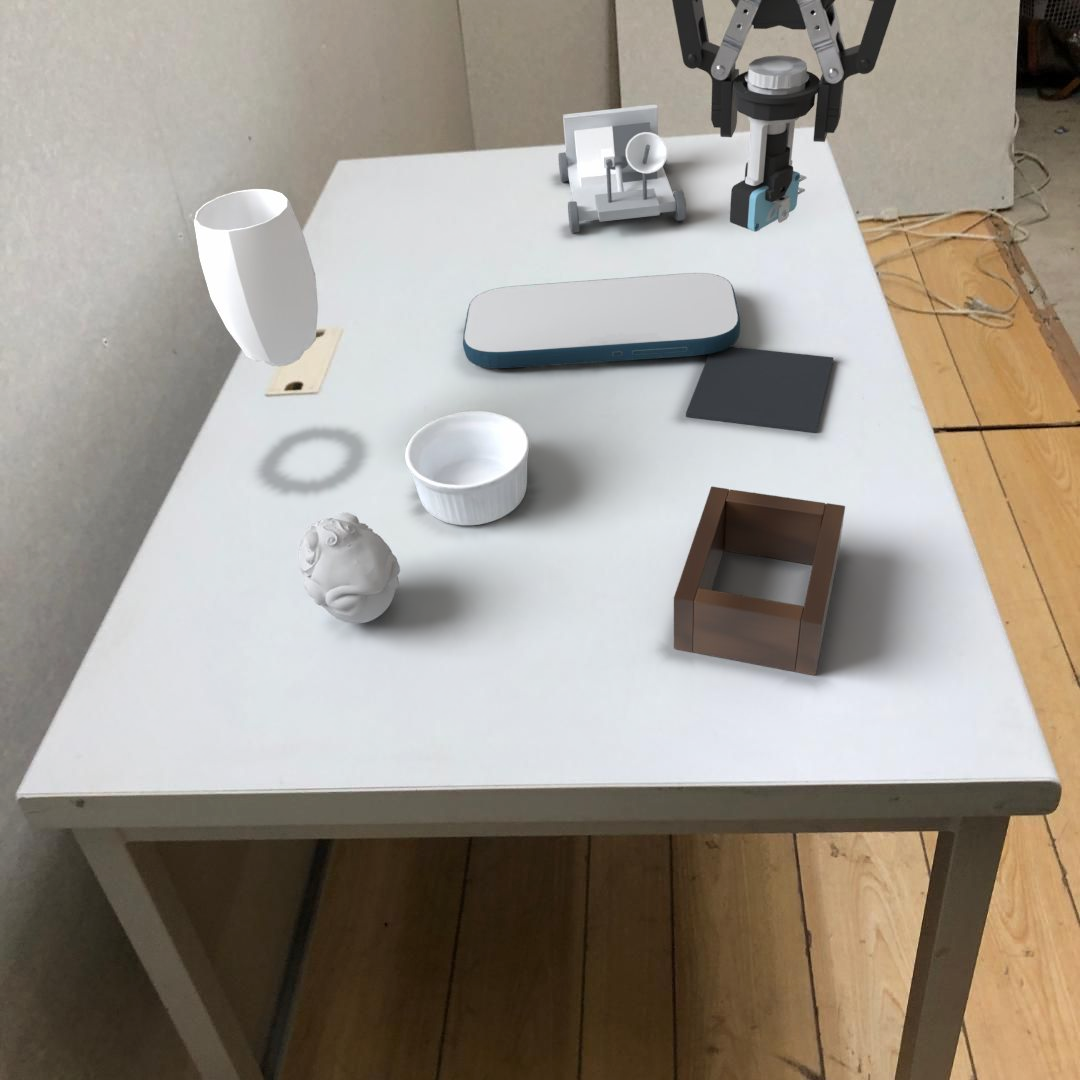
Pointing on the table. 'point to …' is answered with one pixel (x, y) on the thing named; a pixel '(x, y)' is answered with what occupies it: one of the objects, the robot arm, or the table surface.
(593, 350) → the external hard drive
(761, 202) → the push button
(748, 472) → the table surface
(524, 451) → the ramekin
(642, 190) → the toy car
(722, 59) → the robot arm
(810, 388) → the mat
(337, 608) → the frog figurine
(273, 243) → the cup
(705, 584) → the holder
